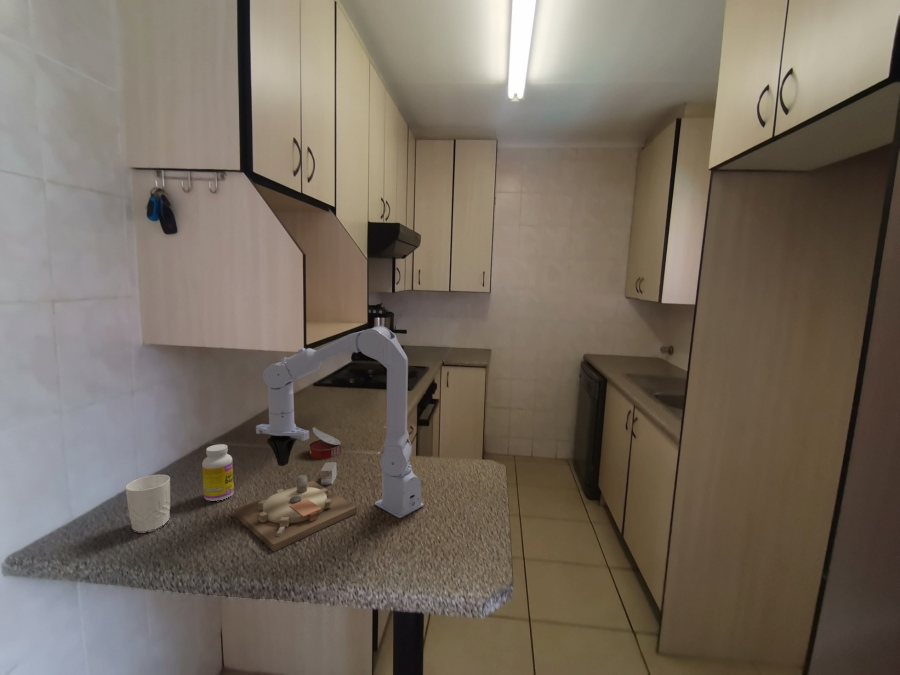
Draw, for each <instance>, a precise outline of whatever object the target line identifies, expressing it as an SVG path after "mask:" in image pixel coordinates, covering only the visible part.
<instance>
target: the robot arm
mask: <svg viewBox="0 0 900 675" xmlns="http://www.w3.org/2000/svg"><path fill="white" fill-rule="evenodd" d="M399 342H400V341H399V340H398V337H397V335H396V334H395V332H392V330H390V329H389V328H388V327H386V326H383V325H376V326H373V327H372V328H367V329H364V330H361V331H357V332H353V333H349V334H347V335H345V336H343V337H341V338H339V339H337V340H335V341H333V342H331V343H328V344H326V345H325V346H324V347H320V348H319V349H317V350H316V349H313V348H310V347H308V348H306V347H303V348H300V349H298V350H297V352H298V353H295V354H294V355H291V356H289V357H287V356H285V357H282V358H281V359H280V361H279V362H277V363H272V364H271V363H270V364H269V366H267V367H266V368H265V369H264V370H263V372H262V379H263V382H264V384H265V385H266V386H267V395H268V396H267V400H268V401H267V402H268V419H269V420H268V424H267V423H261V424H257V425H256V426H255V432H256V434H258V435H260V434H263V435H265V434H266V435H270V438H267V441H266V442H267V444H268V445H269V447H270V448H271V450H272V452H273V453H274V456H275V459H276V462H277V465H278V466H279V467H284V466H286V465H287V464H289V462H290V456H291V454H292V449H293V446H294V444H295V443H296V441H297V440H300V441H302V442H305V441H307V440H309V439H310V430H307V429H304V428H300V427H298V426H297V425H296V423H295V406H294V404H295V403H294V382H295V381H297V380H299V379H301V378H304V377H306V376H308V375H311V374H313V373H314V372H317V371H319V370H320V369H321V367H322V365H323V362H326V361H328V360H330V359H332V358H335V357H337V356H340V355H342V354H344V353H346V352H353V353H356V354H358V353H359V352H361V354H363V355H365V356H367V357H369V358H371V359H374V360H376V361H378V362H379V363H380V364H381V365H382V366H383V367H385V368H386V435H385V439H384V444H383V452H382V455H381V456H380V459H379V465H380V469H381V490H382V491H381V493H382V495H381V496H382V497H381V499H379V500H377V501H374V505H375V506H377V507H378V508H380V509H382V510H384V511H386V512H387V513H389V514H390V515H393V516H395V517H396V518H399V519H402V518H403V517H405V516H407V515H409V514H411V513H413V512H415V511H416V510H418V509H420V508H422V507H424V503H423V502H422V481H421V479H420V477H418V476H417V475H415V473H414V472H413V468H412V467H413V466H412V465H411V464H412V463H411V462H410V457H411V456H412V455H413V445H412V443H411V441H410V432H409V431H408V393H409V392H408V389H409V388H408V385H409V384H408V380H409V379H408V377H409V376H408V375H409V358H408V356H407V354H406V353H405V351H404V349H403V348H402V346H401V344H400V343H399Z"/></svg>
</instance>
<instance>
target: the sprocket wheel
mask: <svg viewBox="0 0 900 675" xmlns="http://www.w3.org/2000/svg"><path fill="white" fill-rule="evenodd" d="M295 480H296V486H297V488H293V487H290V488H287V489H284V488H280V489H277V490H275V494H272V496H271V495H270V496H271V497H269V498H268V499H267V500H261V501H260V502H259V503H258V509H259V510H263V512H261V513H259V520H260V521H261V522H262V523H263V522H265V521H267V520H268V521H270V522H273V523H279V524H280V527H288V525H289V524H291V523H297V522H302V521H305V520H309V521H314V520H316V519H317V515H318V514H320V513H321V512H322V511H323V510H324V509H325V508H331V506H332V499H327V496H329V491H330V490H329V489H327V488H326V487H324V488H323V489H321V490H320V489H317V488H313V487H309V485H307V482H308V476H307V475H305V474H300V475H297V476H296V479H295Z"/></svg>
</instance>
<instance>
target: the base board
mask: <svg viewBox="0 0 900 675" xmlns="http://www.w3.org/2000/svg"><path fill="white" fill-rule="evenodd" d="M307 485H309V487H313V488H317V489H320V490H321V489H323V488H325V487H324V486H323V485H321V484H320V483H317V482H316V481H314V480H310V481H307ZM292 488H297V485H296V486H294V487H292ZM272 495H273V494H272ZM272 495H271V494H270V495H269V496H265V497H263V498H260V499H257V500H255V501H252V502H250V503H249V502H248V503H247V504H245V505H241V506H239V507H235V508H233V516H234V517H235V518H236V519H237V520H239V521H240V522H241V523H242V524H243V525H244V526H245V527H246V528H247V529H248V530H250V531H251V532H252V534H254V535H255V536H256V537H257V538H258V539H260V540H261V542H263V543H264V545H265V546H267V547H268V548H269V549H270V550H271V551H272V552H277V551H278V550H281V549H283V548H284V547H287V546H289V545H291V544H293V543H296V542H298V541H300V540H302V539H304V538H306V537H308V536H310V535H312V534H315V533H316V532H318V531H321V530H323V529H325V528H328V527H330V526H332V525H334V524H337V523H338V522H340V521H343V520H345V519H347V518H348V517H349V518H350V517H351V516H353V515H355V514H357V513H358V507H357V506H356V505H355V504H354V503H352V502H350V501H348V500H346V499H344V498H343V497H341V496H340V495H338V494H336V493H334V492H332V491H331V490H329V496H327V499H332V506H331V508H325V509H324V510H323V511H322V512H321V513H320V514H318V515H317V519H316V520H314V521H309V520H305V521H302V522H297V523H291V524H289V525H288V527H280V524H279V523H273V522H270V521H268V520H267V521H265V522H263V523H262V522H261V521H260V520H259V513H261V512H263V510H259V509H258V503H259V502H260V501H261V500H267V499H268V498H269V497H271V496H272Z"/></svg>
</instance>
